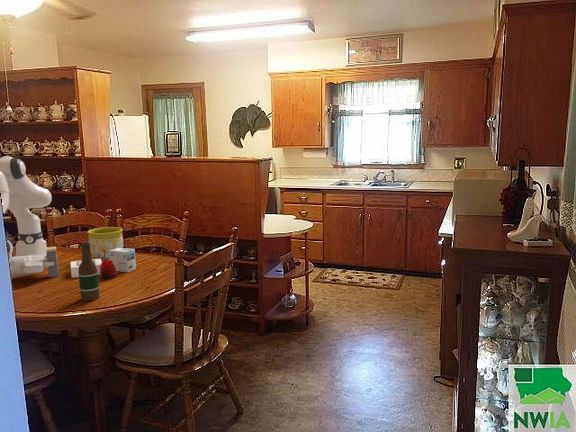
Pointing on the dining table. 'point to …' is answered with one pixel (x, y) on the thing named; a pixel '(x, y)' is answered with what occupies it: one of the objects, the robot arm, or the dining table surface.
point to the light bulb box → (123, 259)
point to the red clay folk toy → (107, 268)
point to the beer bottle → (88, 275)
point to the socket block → (76, 265)
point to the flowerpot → (104, 241)
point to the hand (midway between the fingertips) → (54, 261)
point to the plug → (52, 257)
